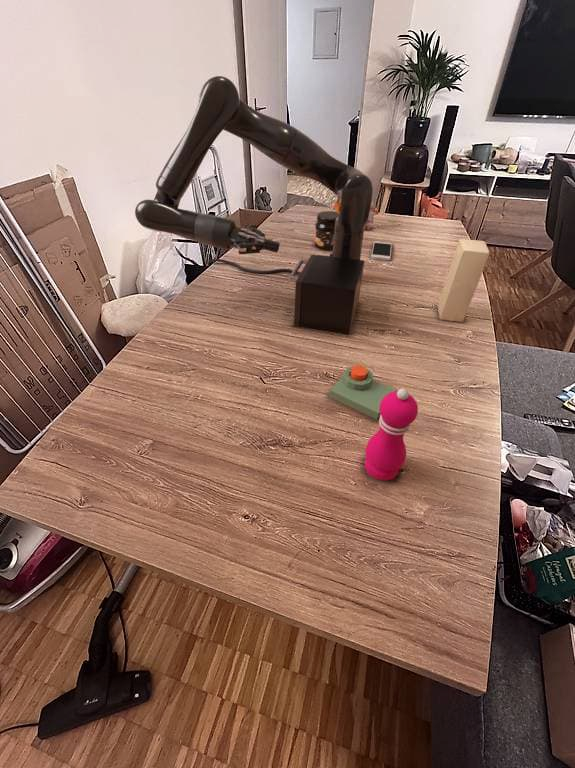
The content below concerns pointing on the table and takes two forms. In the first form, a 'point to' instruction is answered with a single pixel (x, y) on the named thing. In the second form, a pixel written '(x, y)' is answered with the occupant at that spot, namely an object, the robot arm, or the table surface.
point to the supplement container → (325, 230)
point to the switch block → (360, 393)
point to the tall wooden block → (462, 279)
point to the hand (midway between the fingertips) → (278, 247)
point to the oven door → (299, 285)
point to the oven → (331, 294)
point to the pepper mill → (390, 435)
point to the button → (358, 373)
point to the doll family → (371, 214)
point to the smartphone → (381, 250)
